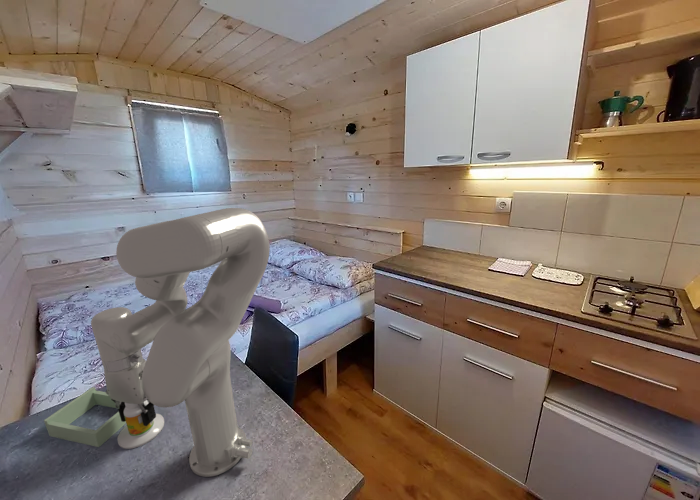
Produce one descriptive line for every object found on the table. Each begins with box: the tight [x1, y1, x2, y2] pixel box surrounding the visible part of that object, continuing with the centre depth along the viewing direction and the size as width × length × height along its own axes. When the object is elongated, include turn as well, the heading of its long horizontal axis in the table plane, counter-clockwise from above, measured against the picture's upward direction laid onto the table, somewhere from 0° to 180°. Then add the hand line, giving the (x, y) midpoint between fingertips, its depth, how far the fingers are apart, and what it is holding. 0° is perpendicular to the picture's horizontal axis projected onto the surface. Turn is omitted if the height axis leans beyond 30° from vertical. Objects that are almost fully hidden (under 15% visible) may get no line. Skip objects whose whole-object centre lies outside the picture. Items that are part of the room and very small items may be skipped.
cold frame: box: [43, 386, 127, 448], centre depth 80 cm, size 16×12×5 cm
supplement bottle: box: [124, 400, 154, 437], centre depth 76 cm, size 5×5×10 cm
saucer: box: [117, 413, 165, 450], centre depth 78 cm, size 10×10×1 cm
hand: (139, 418), depth 77 cm, fingers open, 6 cm apart
